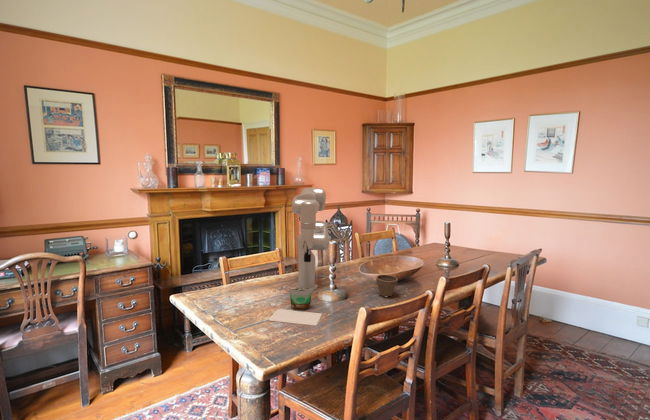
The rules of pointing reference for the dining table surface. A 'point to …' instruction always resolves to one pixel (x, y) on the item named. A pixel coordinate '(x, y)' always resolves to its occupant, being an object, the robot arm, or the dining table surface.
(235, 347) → the dining table surface
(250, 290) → the dining table surface
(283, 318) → the mat
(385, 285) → the flower pot
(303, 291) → the food container
